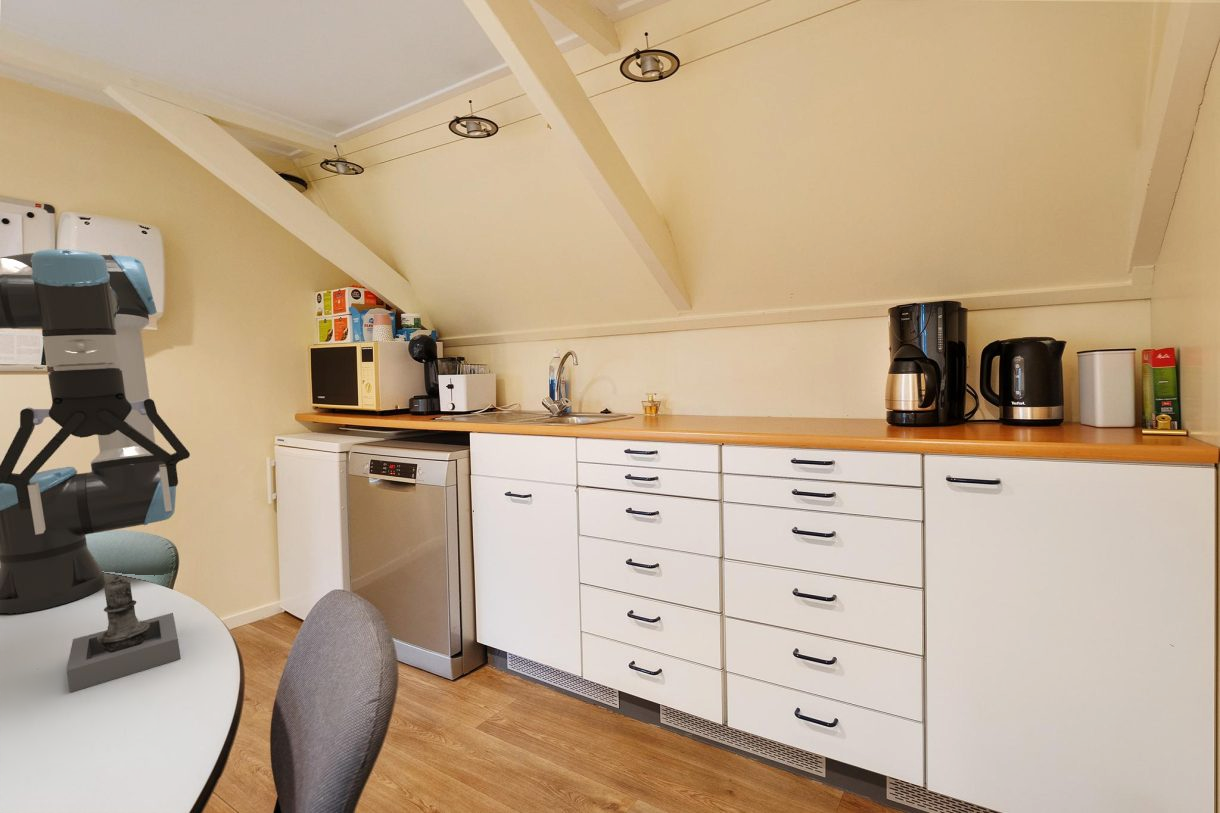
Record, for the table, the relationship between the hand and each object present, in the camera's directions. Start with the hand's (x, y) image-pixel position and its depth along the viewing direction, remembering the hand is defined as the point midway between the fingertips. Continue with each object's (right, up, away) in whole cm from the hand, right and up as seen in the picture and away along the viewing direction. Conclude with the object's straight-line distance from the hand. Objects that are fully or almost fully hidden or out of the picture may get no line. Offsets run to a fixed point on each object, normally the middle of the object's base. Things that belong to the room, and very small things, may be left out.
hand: (107, 520), depth 82 cm
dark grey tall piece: (+1, -20, +2) cm, 20 cm away
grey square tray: (+1, -20, +2) cm, 20 cm away
